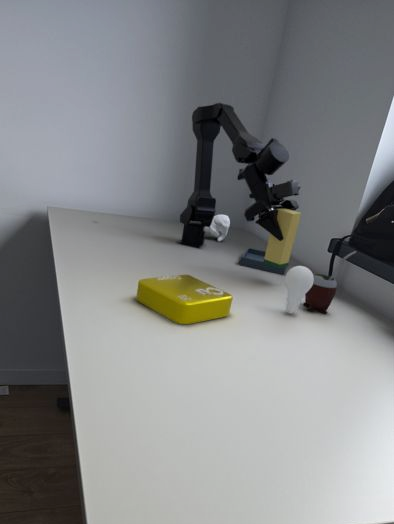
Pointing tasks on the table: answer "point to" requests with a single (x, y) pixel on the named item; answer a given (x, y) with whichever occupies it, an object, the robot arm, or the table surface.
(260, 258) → the tray
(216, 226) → the white irregular rounded piece
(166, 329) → the table surface
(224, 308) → the element tile
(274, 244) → the sponge
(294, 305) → the lightbulb
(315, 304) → the mate gourd
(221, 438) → the table surface
